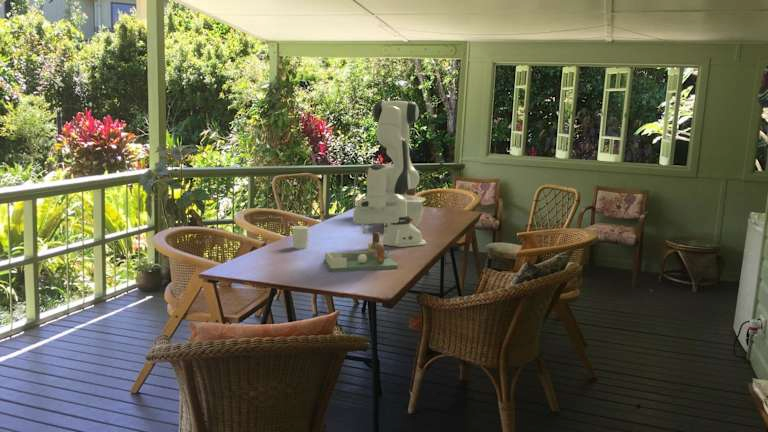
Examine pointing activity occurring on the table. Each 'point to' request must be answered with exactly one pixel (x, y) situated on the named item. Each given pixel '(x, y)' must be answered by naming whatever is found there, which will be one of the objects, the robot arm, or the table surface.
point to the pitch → (355, 263)
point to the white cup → (300, 236)
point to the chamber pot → (414, 208)
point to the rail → (355, 254)
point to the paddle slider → (377, 247)
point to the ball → (362, 258)
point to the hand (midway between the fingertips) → (375, 233)
